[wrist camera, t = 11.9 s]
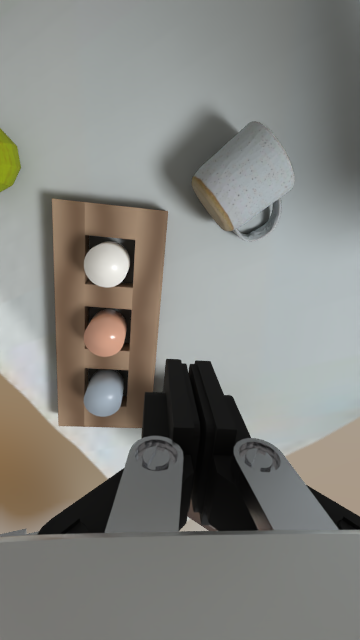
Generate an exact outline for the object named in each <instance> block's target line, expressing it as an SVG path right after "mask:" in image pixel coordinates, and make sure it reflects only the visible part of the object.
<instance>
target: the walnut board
mask: <svg viewBox="0 0 360 640" xmlns="http://www.w3.org/2000/svg"><path fill="white" fill-rule="evenodd" d="M52 218H53V252H54V286H55V320H56V354H57V388H58V422H59V426H81V427H117V428H142V422H143V408H144V395H145V392H153V386H154V374H155V362H156V350H157V338H158V326H159V314H160V302H161V290H162V278H163V266H164V254H165V242H166V230H167V218H168V211H161V210H152V209H143V208H134V207H125V206H115V205H106V204H97V203H88V202H79V201H70V200H61V199H52ZM89 235H91V236H101V237H112V238H122V239H132V240H135V257H134V276H133V283H122V282H121V283H119V284H118V285H116V286H114V287H101V286H98V285H96V284H94V283H93V282H92V281H91V280H89V278H88V277H87V275H86V273H85V270H84V259H85V256H86V254H87V253H88V251H89ZM89 307H102V308H116V309H130V310H132V314H131V332H130V343H124V344H123V347H122V348H121V350H120V351H119V352H118V353H116V354H114V355H112V356H108V357H101V356H98V355H95V354H93V353H92V352H90V351H89V350H88V348H87V347H86V345H85V343H84V332H85V330H86V328H87V327H88V325H89ZM88 368H93V369H114V370H128V389H127V396H122V402H121V406H120V408H119V410H118V411H117V412H116V413H114V414H112V415H110V416H106V417H100V416H96V415H93V414H92V413H90V412H89V411H88V410H87V409H86V407H85V405H84V396H85V393H86V390H87V388H88Z"/></svg>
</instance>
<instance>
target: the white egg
mask: <svg viewBox="0 0 360 640" xmlns="http://www.w3.org/2000/svg"><path fill="white" fill-rule="evenodd" d="M129 267H130V256H129V254H128V252H127V250H126V249H125V248H124V247H123V246H122V245H121V244H119V243H117V242H113V241H106V242H103V243H101V244H99V245H97V246H95V247H93V248H92V249H90V250H89V251H88V253H87V254H86V256H85V259H84V270H85V273H86V275H87V277H88V278H89V279H90V280H91V281H92V282H93V283H94V284H96V285H98V286H101V287H114V286H116V285H118V284H119V283H121V282H122V281H123V280H124V278H125V276H126V274H127V272H128V270H129Z"/></svg>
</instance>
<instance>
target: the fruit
mask: <svg viewBox="0 0 360 640" xmlns="http://www.w3.org/2000/svg"><path fill="white" fill-rule="evenodd" d="M20 169H21V165H20V160H19V154H18V149H17V146H16V145H15V144H14V143H13V142H12V140H11V139H10V138H9V137H8V136H7V135H6V134H5V133H4V132H3V131H2V130H1V129H0V192H1V191H3V190H5V189H7V188H8V187H10V186H12V185H13V183H14V181H15V179H16V177H17V175H18V173H19V171H20Z"/></svg>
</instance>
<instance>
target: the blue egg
mask: <svg viewBox="0 0 360 640" xmlns="http://www.w3.org/2000/svg"><path fill="white" fill-rule="evenodd" d="M123 390H124V379H123V377H122V376H121V374H120V373H119V372H117V371H115V370H113V369H101V370H98V371H97V372H95V373H94V374H93V376H92V377H91V380H90V382H89V385H88V388H87V390H86V393H85V396H84V405H85V407H86V409H87V410H88V411H89V412H90V413H92V414H93V415H96V416H100V417H106V416H110V415H112V414H114V413H116V412H117V411H118V410H119V408H120V406H121V402H122V396H123Z"/></svg>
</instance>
